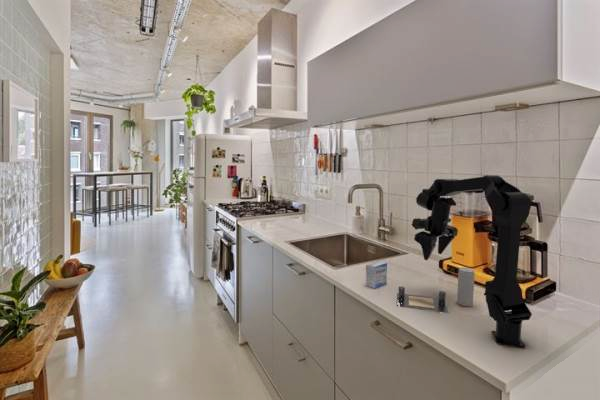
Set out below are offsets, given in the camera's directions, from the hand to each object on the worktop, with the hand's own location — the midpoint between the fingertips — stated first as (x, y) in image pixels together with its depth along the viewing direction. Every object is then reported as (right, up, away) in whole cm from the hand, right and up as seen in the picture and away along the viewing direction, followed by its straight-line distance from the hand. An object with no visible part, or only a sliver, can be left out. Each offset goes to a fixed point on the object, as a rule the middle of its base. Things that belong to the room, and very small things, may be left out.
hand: (432, 256), depth 117 cm
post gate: (-6, -16, -4) cm, 17 cm away
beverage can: (+9, -15, -5) cm, 18 cm away
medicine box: (-17, -13, +12) cm, 25 cm away
